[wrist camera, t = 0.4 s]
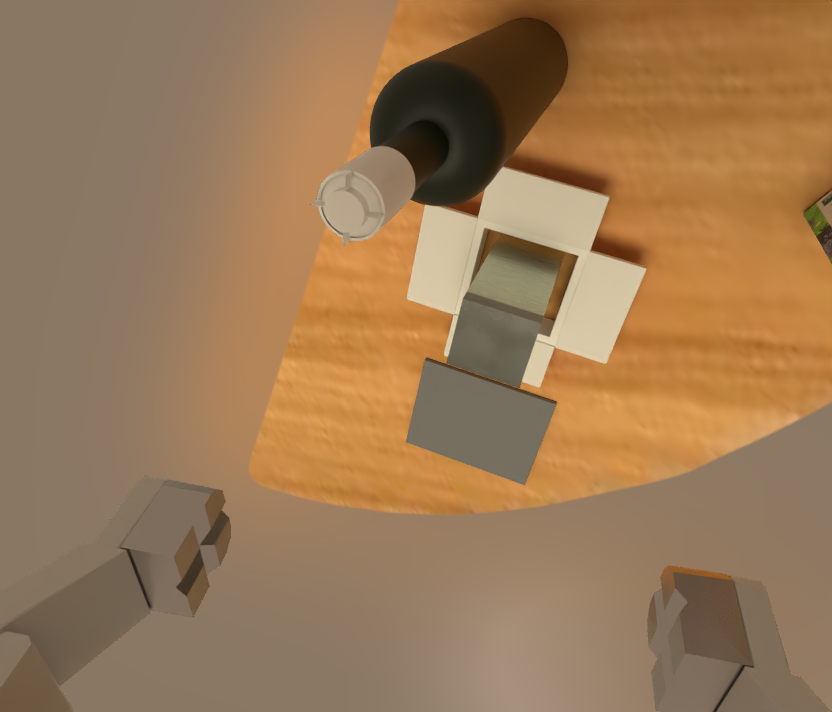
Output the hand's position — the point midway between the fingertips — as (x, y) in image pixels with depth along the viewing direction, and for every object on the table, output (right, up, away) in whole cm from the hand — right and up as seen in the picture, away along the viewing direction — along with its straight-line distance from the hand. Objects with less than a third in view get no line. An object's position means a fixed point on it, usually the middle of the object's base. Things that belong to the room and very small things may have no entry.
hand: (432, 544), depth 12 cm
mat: (+5, -3, +47) cm, 48 cm away
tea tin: (+8, +10, +38) cm, 41 cm away
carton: (+8, +10, +38) cm, 41 cm away
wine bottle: (+7, +23, +31) cm, 39 cm away
